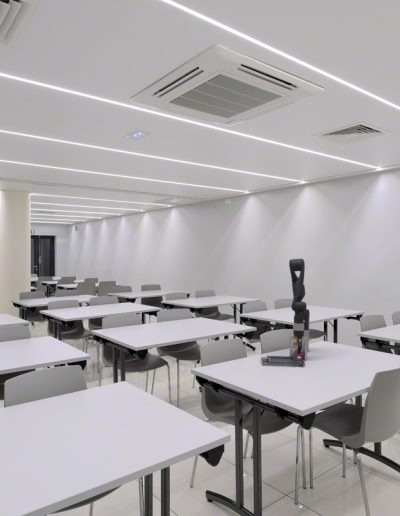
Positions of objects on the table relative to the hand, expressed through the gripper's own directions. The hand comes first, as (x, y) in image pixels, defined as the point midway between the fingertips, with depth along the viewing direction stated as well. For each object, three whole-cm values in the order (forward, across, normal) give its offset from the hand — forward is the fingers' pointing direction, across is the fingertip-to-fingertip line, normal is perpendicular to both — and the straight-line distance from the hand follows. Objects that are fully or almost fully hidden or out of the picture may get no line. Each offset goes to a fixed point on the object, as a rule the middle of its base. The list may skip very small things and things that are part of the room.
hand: (298, 351), depth 282 cm
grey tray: (+5, -13, +13) cm, 19 cm away
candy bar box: (+5, 0, 0) cm, 5 cm away
